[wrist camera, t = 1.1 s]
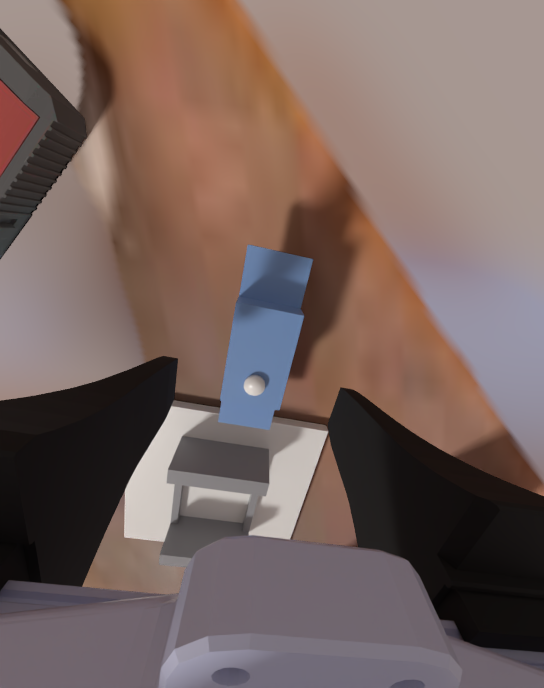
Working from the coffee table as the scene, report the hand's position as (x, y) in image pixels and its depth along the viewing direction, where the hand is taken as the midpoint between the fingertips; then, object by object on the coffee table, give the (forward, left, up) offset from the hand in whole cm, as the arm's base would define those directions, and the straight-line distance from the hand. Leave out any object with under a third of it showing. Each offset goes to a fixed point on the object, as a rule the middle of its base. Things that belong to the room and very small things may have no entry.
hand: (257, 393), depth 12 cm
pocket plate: (+1, +15, -8) cm, 17 cm away
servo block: (0, 0, -8) cm, 8 cm away
